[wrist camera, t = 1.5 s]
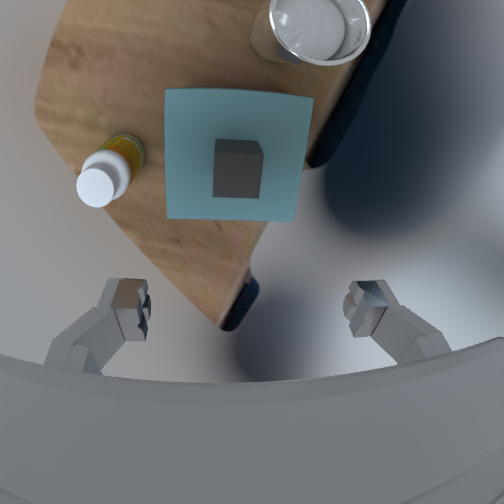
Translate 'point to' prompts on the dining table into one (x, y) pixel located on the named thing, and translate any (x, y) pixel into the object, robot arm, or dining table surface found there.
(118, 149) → the supplement bottle
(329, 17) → the beer glass
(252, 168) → the lid
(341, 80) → the dining table surface
